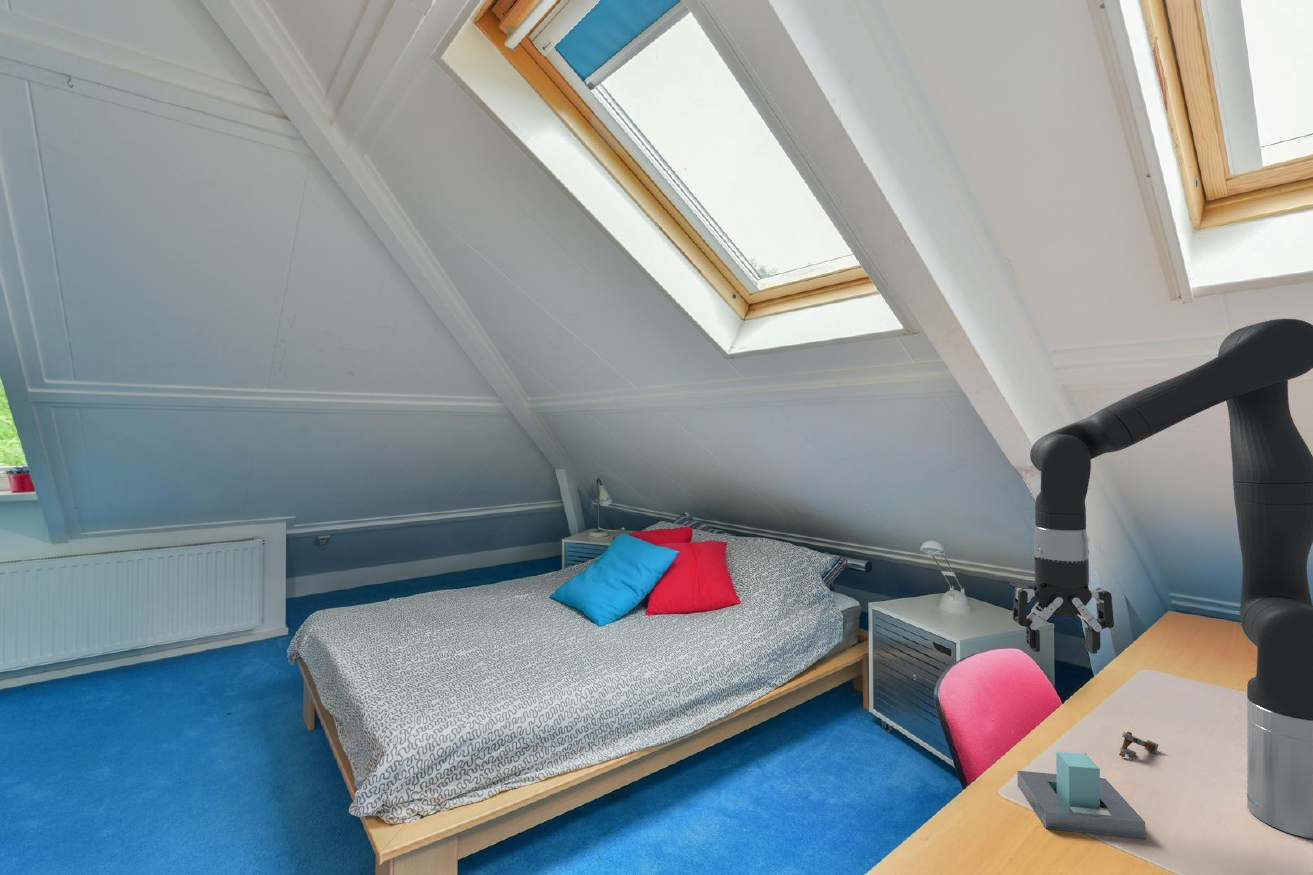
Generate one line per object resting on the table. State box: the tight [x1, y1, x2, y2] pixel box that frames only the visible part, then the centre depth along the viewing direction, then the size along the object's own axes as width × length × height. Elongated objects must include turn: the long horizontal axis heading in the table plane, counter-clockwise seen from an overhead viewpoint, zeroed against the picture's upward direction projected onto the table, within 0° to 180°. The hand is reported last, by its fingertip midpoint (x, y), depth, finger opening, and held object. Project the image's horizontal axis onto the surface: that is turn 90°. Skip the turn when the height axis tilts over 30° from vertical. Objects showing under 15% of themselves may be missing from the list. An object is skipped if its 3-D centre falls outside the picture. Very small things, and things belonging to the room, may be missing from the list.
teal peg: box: [1055, 751, 1101, 808], centre depth 94 cm, size 4×4×8 cm
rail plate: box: [1017, 770, 1146, 840], centre depth 94 cm, size 13×11×3 cm
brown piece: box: [1119, 731, 1159, 758], centre depth 109 cm, size 2×8×4 cm, turn 107°
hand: (1062, 651), depth 100 cm, fingers open, 8 cm apart
